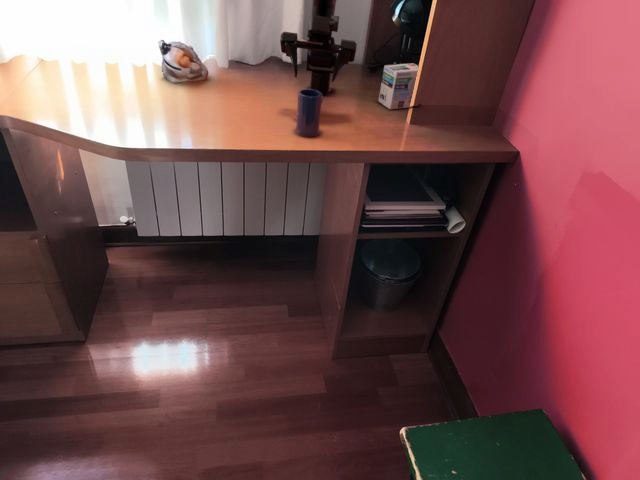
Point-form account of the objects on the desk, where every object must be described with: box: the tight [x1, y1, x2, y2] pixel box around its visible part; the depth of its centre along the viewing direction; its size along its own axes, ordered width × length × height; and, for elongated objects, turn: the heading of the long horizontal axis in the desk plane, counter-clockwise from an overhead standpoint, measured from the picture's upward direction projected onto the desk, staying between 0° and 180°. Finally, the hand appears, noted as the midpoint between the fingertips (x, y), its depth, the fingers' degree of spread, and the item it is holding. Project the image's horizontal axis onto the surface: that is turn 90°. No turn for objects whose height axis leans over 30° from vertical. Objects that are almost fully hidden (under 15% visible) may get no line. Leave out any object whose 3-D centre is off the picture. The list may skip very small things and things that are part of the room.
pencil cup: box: [295, 88, 323, 138], centre depth 111 cm, size 6×6×10 cm
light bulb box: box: [377, 62, 419, 110], centre depth 132 cm, size 11×7×11 cm, turn 117°
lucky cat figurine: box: [157, 39, 209, 84], centre depth 133 cm, size 15×12×14 cm
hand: (314, 79), depth 113 cm, fingers open, 9 cm apart
